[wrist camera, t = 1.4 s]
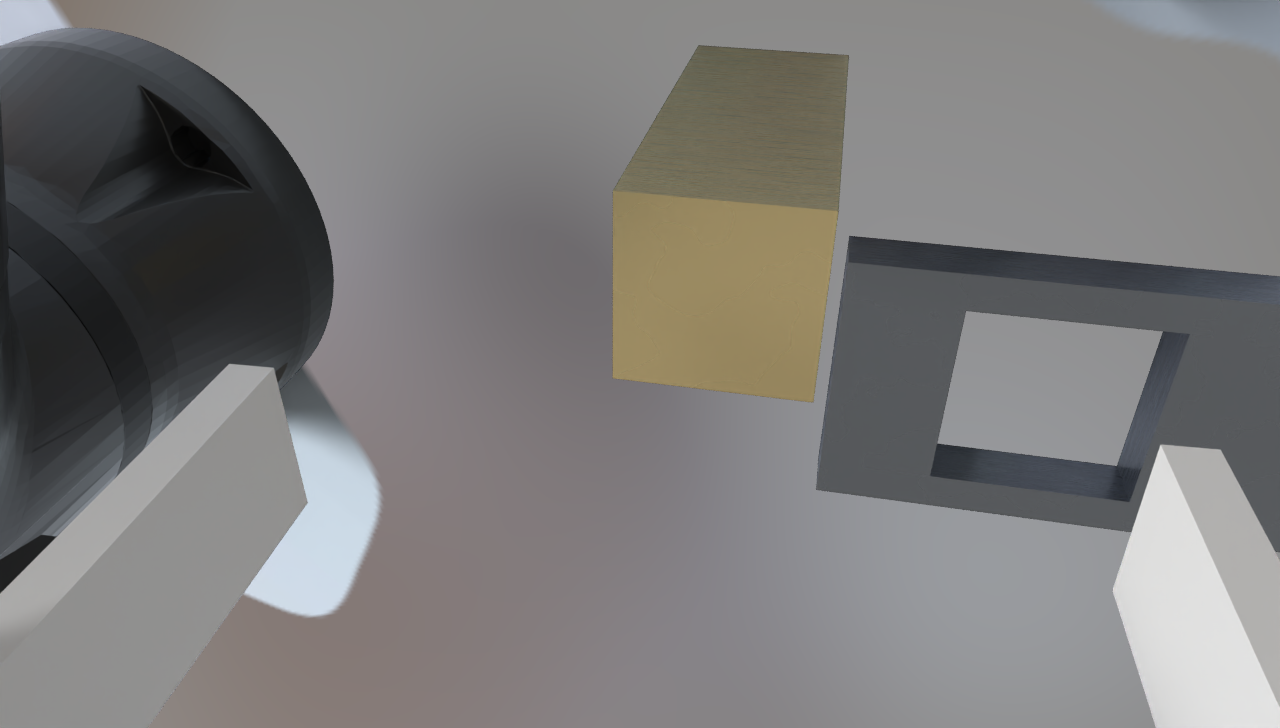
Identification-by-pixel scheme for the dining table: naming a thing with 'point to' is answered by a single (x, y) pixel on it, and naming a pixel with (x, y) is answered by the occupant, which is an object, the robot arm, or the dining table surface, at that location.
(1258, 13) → the dining table surface
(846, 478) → the panel
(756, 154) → the brass block
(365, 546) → the dining table surface
